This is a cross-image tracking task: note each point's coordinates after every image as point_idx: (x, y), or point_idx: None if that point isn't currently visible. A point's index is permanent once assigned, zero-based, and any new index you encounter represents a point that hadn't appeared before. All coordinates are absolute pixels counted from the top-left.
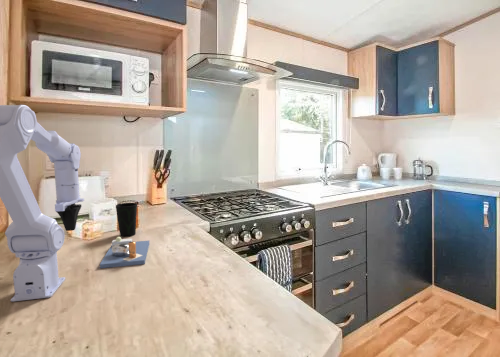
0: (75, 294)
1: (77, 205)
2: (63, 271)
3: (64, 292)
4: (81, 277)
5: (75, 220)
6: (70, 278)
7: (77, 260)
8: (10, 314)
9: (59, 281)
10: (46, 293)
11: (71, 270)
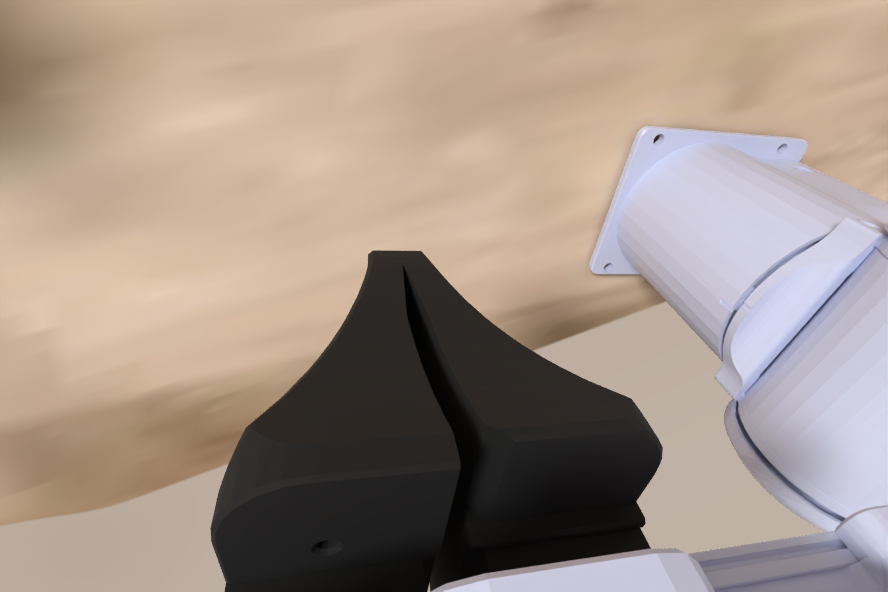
0: (859, 24)
1: (393, 515)
2: (514, 165)
3: (792, 89)
4: (664, 33)
5: (429, 303)
6: (639, 100)
7: (349, 125)
8: None
9: (682, 144)
10: (797, 162)
11: (520, 123)
